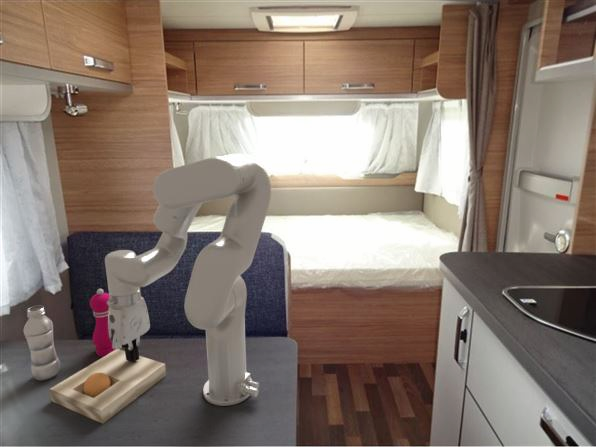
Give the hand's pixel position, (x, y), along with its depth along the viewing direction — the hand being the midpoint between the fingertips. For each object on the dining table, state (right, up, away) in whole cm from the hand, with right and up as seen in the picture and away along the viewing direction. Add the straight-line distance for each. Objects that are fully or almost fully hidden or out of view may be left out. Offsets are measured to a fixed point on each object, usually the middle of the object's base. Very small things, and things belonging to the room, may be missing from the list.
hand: (132, 359), depth 108 cm
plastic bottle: (-23, -4, -1) cm, 23 cm away
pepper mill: (-13, -1, +12) cm, 17 cm away
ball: (-5, -3, -9) cm, 11 cm away
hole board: (-3, -5, -5) cm, 8 cm away
